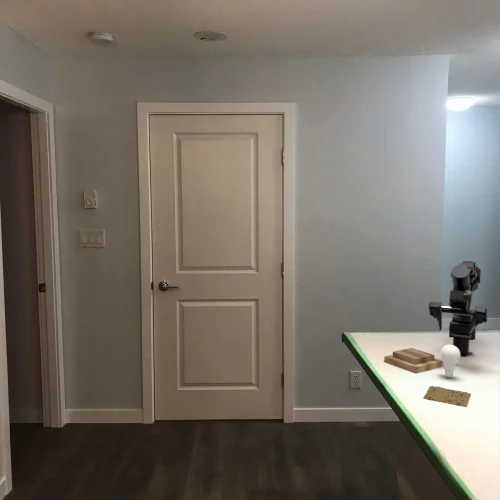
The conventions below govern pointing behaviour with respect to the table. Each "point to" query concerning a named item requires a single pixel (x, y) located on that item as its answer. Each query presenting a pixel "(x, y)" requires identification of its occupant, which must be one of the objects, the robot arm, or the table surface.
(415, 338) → the table surface
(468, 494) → the table surface
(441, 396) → the cookie
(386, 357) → the plinth
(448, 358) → the lightbulb
